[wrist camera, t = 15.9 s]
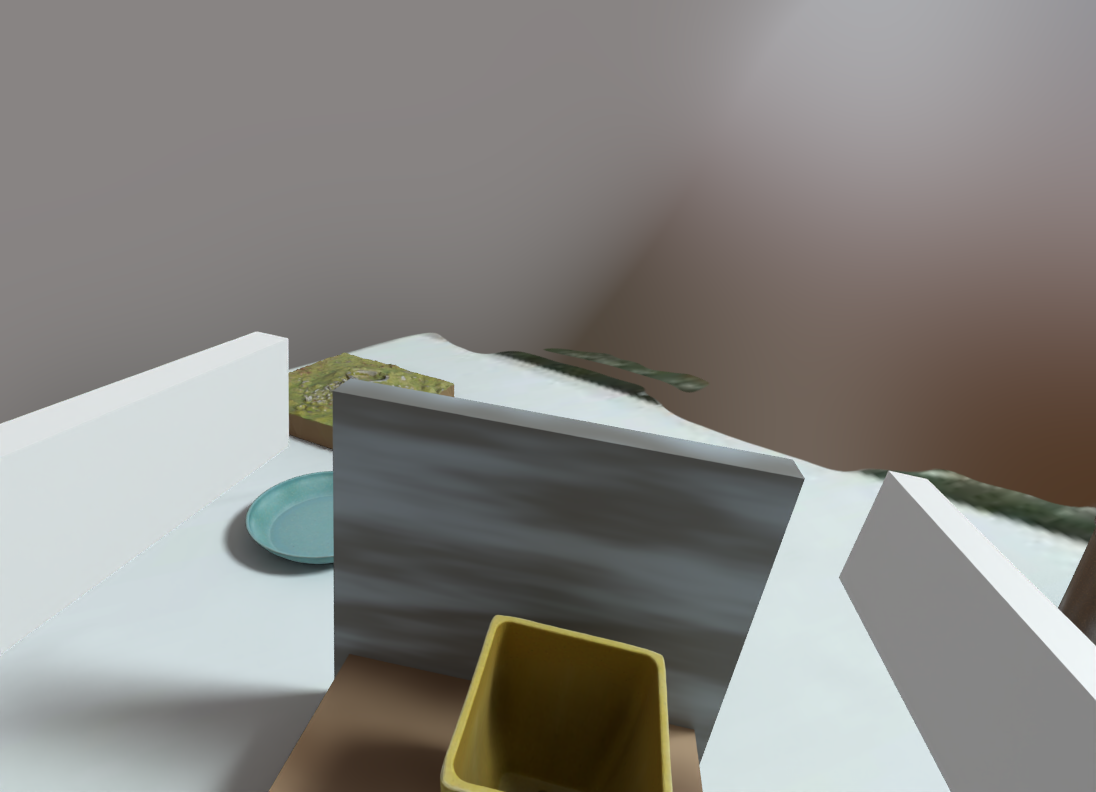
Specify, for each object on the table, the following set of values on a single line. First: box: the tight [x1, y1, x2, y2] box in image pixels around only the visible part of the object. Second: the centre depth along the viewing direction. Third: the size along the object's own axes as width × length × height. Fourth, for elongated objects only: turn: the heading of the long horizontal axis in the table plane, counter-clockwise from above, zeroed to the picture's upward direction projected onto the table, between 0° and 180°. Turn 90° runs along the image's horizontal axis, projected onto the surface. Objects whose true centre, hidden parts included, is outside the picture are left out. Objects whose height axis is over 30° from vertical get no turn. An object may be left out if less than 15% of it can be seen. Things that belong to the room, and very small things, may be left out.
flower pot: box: [440, 615, 673, 792], centre depth 25 cm, size 9×9×9 cm
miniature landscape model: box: [288, 353, 454, 449], centre depth 81 cm, size 22×24×5 cm
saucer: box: [246, 471, 334, 564], centre depth 55 cm, size 15×15×3 cm
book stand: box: [269, 378, 805, 792], centre depth 27 cm, size 14×24×24 cm, turn 83°
